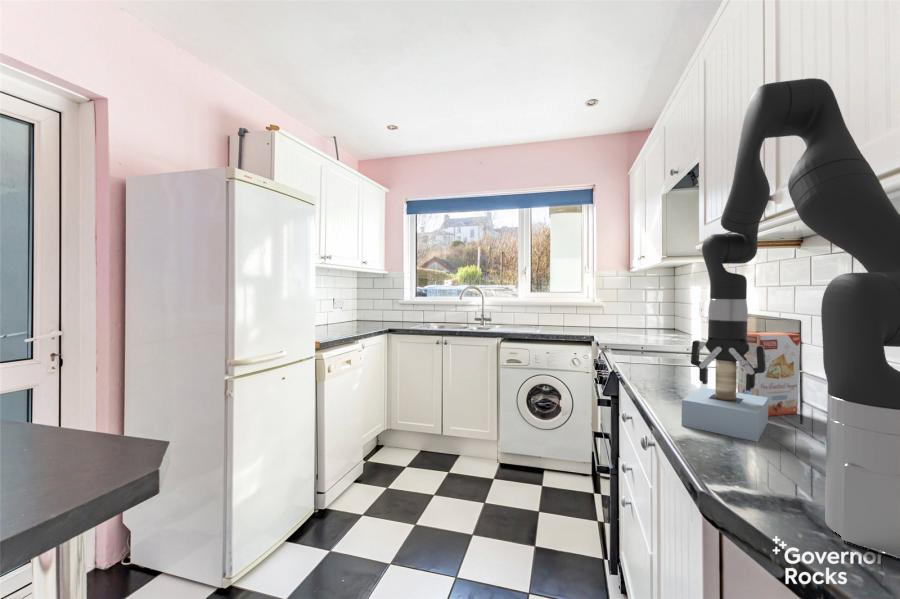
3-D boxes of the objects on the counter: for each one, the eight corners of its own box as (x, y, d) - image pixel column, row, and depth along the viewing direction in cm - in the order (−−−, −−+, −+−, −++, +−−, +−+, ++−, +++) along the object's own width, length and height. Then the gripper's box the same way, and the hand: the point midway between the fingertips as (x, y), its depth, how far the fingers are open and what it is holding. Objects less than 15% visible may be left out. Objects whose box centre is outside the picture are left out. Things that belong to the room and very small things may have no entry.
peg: (734, 423, 89) (735, 362, 89) (713, 419, 92) (713, 360, 92) (737, 419, 92) (738, 360, 92) (716, 415, 95) (717, 358, 95)
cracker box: (759, 418, 96) (761, 334, 96) (735, 411, 102) (737, 332, 102) (800, 414, 100) (801, 333, 100) (775, 407, 106) (776, 331, 106)
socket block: (757, 441, 81) (758, 413, 81) (681, 425, 90) (681, 399, 90) (768, 422, 93) (768, 397, 93) (700, 409, 103) (700, 387, 103)
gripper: (688, 317, 94) (687, 384, 94) (764, 320, 84) (762, 395, 84) (696, 316, 99) (695, 379, 100) (768, 319, 89) (766, 389, 90)
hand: (726, 386), depth 92 cm, fingers open, 8 cm apart
